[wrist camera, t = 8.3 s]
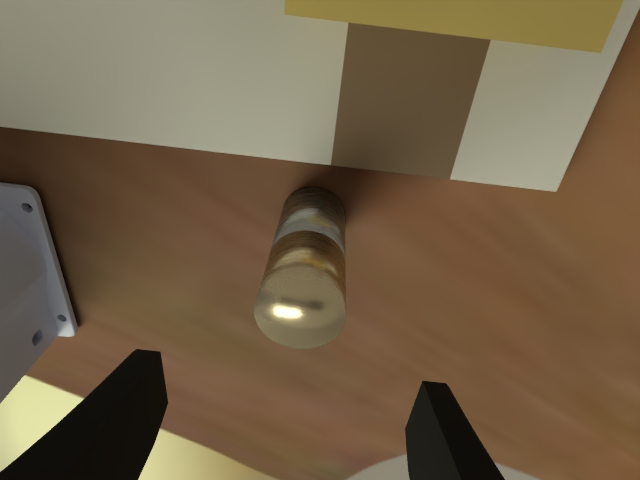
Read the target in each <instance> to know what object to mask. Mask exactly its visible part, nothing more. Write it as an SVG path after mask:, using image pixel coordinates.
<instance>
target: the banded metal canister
mask: <svg viewBox="0 0 640 480" xmlns="http://www.w3.org/2000/svg"><path fill="white" fill-rule="evenodd" d="M254 316H255V320H256V323H257V325H258V327H259V328H260V330H261V331H262V332H263V333H264V334H265V335H266V336H267V337H268V338H270V339H271V340H273V341H274V342H276V343H279V344H281V345H284V346H287V347H291V348H297V349H309V348H315V347H319V346H322V345H325V344H327V343H329V342H330V341H332V340H333V339H335V338H336V337H337V336H338V335H339V334H340V332H341V331H342V329H343V327H344V325H345V320H346V274H345V211H344V207H343V205H342V203H341V201H340V200H339V199H338V197H337V196H336V195H334V194H333V193H332V192H330V191H328V190H326V189H323V188H319V187H306V188H302V189H299V190H297V191H295V192H294V193H292V194H291V195H290V196H289V197H288V198H287V200H286V201H285V203H284V206H283V209H282V213H281V216H280V220H279V223H278V227H277V230H276V234H275V237H274V241H273V244H272V247H271V251H270V254H269V258H268V261H267V265H266V268H265V272H264V275H263V279H262V282H261V286H260V289H259V293H258V296H257V300H256V303H255V307H254Z"/></svg>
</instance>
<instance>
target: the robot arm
mask: <svg viewBox="0 0 640 480" xmlns="http://www.w3.org/2000/svg"><path fill="white" fill-rule="evenodd" d="M27 204H29V205H30V206H31V207H32V208H33V209H32V208H30V207H29V206H28V205H27ZM77 331H78V326H77V323H76V319H75V316H74V313H73V309H72V306H71V302H70V299H69V295H68V292H67V289H66V285H65V282H64V278H63V275H62V272H61V268H60V265H59V261H58V258H57V255H56V251H55V248H54V244H53V241H52V237H51V234H50V231H49V227H48V224H47V220H46V217H45V214H44V210H43V207H42V203H41V200H40V197H39V194H38V193H37V192H36V190H35V189H33V188H32V187H29V186H26V185H17V184H9V183H0V403H1V402H2V401H3V400H4V398H5V397H6V396H7V395H8V394H9V392H10V391H11V390H12V389H13V388H14V387H15V385H16V384H17V383H18V382H19V381H20V380H21V378H22V377H23V376H24V375H25V374H26V372H27V371H28V370H29V369H30V368H31V367H32V365H33V364H34V363H35V362H36V361H37V359H38V358H39V357H40V356H41V355H42V354H43V352H44V351H45V350H46V349H47V348H48V346H49V345H50V344H51V343H52V342H53V341H54V339H55V338H56V337H57V336H66V337H72V336H74V335H75V333H76V332H77ZM167 405H168V399H167V392H166V386H165V379H164V373H163V366H162V359H161V353H160V352H158V351H149V350H140V349H136V350H135V351H133V352H132V353H131V354H130V355H129V356H128V357H127V358H126V359H125V360H124V361H123V362H122V363H121V364H120V365H119V366H118V367H117V368H116V369H115V370H114V371H113V372H112V373H111V374H110V375H109V376H108V377H107V378H106V379H105V380H104V381H103V382H102V383H101V384H100V385H98V386H97V387H96V388H95V389H94V390H93V391H92V392H91V393H90V394H89V395H88V396H87V397H86V398H85V399H84V400H83V401H82V402H81V403H79V404H78V405H77V406H76V407H75V408H74V409H73V410H72V411H71V412H70V413H69V414H67V415H66V416H65V417H64V418H63V419H62V420H61V421H60V422H59V423H58V424H57V425H55V426H54V427H53V428H52V429H51V430H50V431H49V432H47V433H46V434H45V435H44V436H43V437H42V438H41V439H39V440H38V441H37V442H36V443H35V444H33V445H32V446H31V447H30V448H29V449H28V450H26V451H25V452H24V453H23V454H22V455H20V456H19V457H18V458H17V459H16V460H15V461H13V462H12V463H11V464H10V465H8V466H7V467H6V468H5V469H4V470H2V471H1V472H0V480H138V478H139V476H140V474H141V472H142V470H143V467H144V465H145V463H146V461H147V459H148V456H149V454H150V452H151V450H152V448H153V445H154V443H155V440H156V437H157V435H158V432H159V429H160V426H161V423H162V420H163V417H164V414H165V411H166V408H167ZM405 431H406V447H407V461H408V472H409V477H410V480H505V479H504V477H503V476H502V474H501V473H500V471H499V470H498V468H497V467H496V465H495V463H494V462H493V460H492V459H491V457H490V456H489V454H488V453H487V451H486V449H485V448H484V446H483V444H482V443H481V441H480V440H479V438H478V436H477V435H476V433H475V431H474V430H473V428H472V426H471V425H470V423H469V421H468V420H467V418H466V416H465V414H464V413H463V411H462V409H461V407H460V406H459V404H458V402H457V400H456V399H455V397H454V395H453V393H452V392H451V390H450V388H449V387H448V385H447V384H446V383H438V382H429V381H422V384H421V386H420V389H419V392H418V395H417V398H416V400H415V403H414V406H413V409H412V412H411V414H410V417H409V420H408V423H407V425H406V428H405Z"/></svg>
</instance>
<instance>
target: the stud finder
mask: <svg viewBox="0 0 640 480" xmlns="http://www.w3.org/2000/svg"><path fill="white" fill-rule="evenodd" d="M623 1H624V0H285V10H284V15H291V16H299V17H307V18H315V19H324V20H332V21H340V22H348V23H357V24H365V25H373V26H381V27H390V28H398V29H406V30H414V31H423V32H431V33H439V34H447V35H456V36H464V37H472V38H480V39H489V40H497V41H505V42H513V43H522V44H530V45H538V46H546V47H555V48H563V49H571V50H579V51H588V52H596V53H601V52H602V49H603V47H604V45H605V42H606V40H607V38H608V35H609V33H610V31H611V29H612V26H613V24H614V22H615V19H616V17H617V15H618V12H619V10H620V8H621V5H622V3H623Z"/></svg>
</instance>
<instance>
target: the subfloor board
mask: <svg viewBox="0 0 640 480" xmlns="http://www.w3.org/2000/svg"><path fill="white" fill-rule="evenodd" d="M639 8H640V0H624V1H623V3H622V5H621V8H620V10H619V12H618V15H617V17H616V19H615V22H614V24H613V26H612V29H611V31H610V33H609V35H608V38H607V40H606V42H605V45H604V47H603V49H602V52H601V53H596V52H588V51H579V50H571V49H563V48H555V47H546V46H538V45H530V44H522V43H513V42H505V41H497V40H489V39H480V38H472V37H464V36H456V35H447V34H439V33H431V32H423V31H414V30H406V29H398V28H390V27H381V26H373V25H365V24H357V23H348V22H340V21H332V20H324V19H315V18H307V17H299V16H291V15H284V10H285V0H0V127H7V128H16V129H24V130H33V131H41V132H50V133H59V134H67V135H76V136H84V137H93V138H101V139H110V140H118V141H127V142H136V143H144V144H153V145H161V146H170V147H178V148H187V149H195V150H204V151H213V152H221V153H230V154H238V155H247V156H255V157H264V158H272V159H281V160H290V161H298V162H307V163H315V164H324V165H332V166H341V167H349V168H358V169H367V170H375V171H384V172H392V173H401V174H409V175H418V176H426V177H435V178H444V179H452V180H461V181H469V182H478V183H486V184H495V185H503V186H512V187H521V188H529V189H538V190H546V191H555V192H556V191H557V189H558V187H559V184H560V182H561V180H562V178H563V176H564V173H565V171H566V169H567V167H568V165H569V162H570V160H571V158H572V156H573V154H574V151H575V149H576V147H577V145H578V143H579V140H580V138H581V136H582V134H583V131H584V129H585V127H586V125H587V123H588V120H589V118H590V116H591V114H592V112H593V109H594V107H595V105H596V103H597V101H598V98H599V96H600V94H601V92H602V90H603V87H604V85H605V83H606V81H607V79H608V76H609V74H610V72H611V70H612V68H613V65H614V63H615V61H616V59H617V57H618V54H619V52H620V50H621V48H622V46H623V43H624V41H625V39H626V37H627V35H628V32H629V30H630V28H631V26H632V24H633V21H634V19H635V17H636V15H637V13H638V10H639Z"/></svg>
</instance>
